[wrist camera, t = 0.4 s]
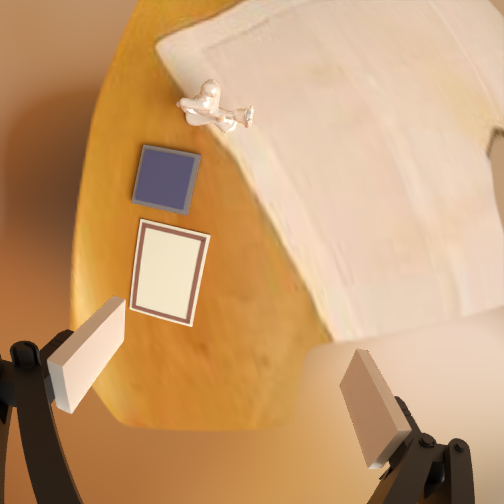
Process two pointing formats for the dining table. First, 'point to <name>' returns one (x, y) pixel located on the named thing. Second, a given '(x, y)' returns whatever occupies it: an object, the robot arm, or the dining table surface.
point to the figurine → (213, 109)
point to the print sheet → (168, 271)
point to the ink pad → (166, 179)
